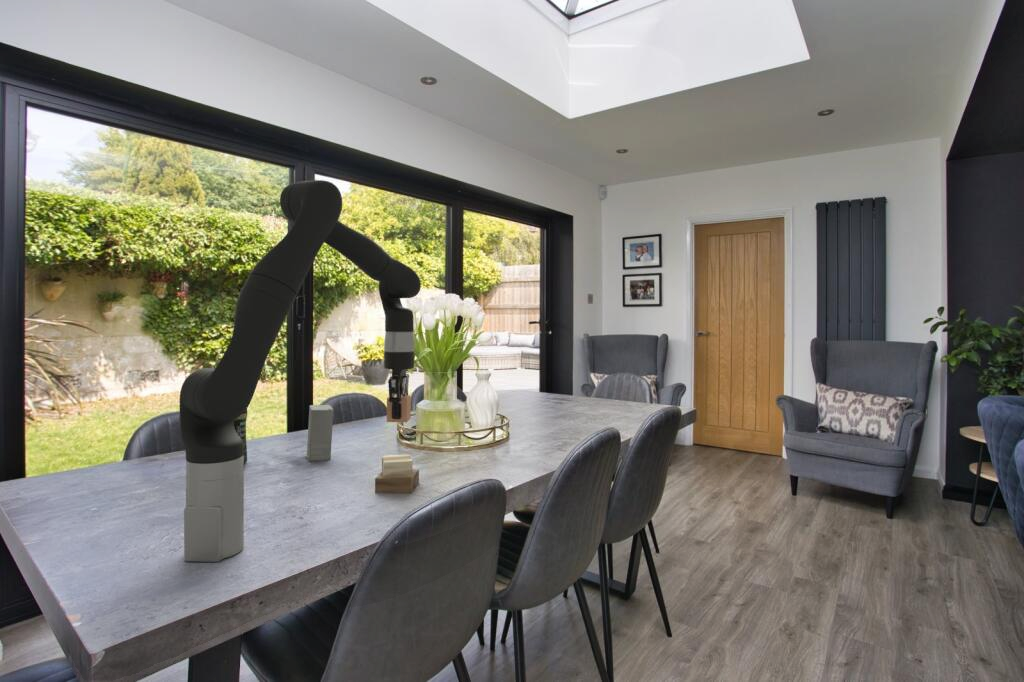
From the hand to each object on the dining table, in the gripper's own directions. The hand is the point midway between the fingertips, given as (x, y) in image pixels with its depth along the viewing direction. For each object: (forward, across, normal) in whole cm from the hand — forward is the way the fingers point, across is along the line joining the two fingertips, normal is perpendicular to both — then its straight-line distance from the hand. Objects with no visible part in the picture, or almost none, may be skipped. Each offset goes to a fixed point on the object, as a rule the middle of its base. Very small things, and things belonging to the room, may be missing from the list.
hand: (398, 416), depth 140 cm
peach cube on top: (+1, 0, 0) cm, 1 cm away
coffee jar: (+18, +18, +52) cm, 58 cm away
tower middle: (+15, 0, 0) cm, 15 cm away
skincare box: (+18, +29, +30) cm, 46 cm away
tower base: (+19, 0, 0) cm, 19 cm away
